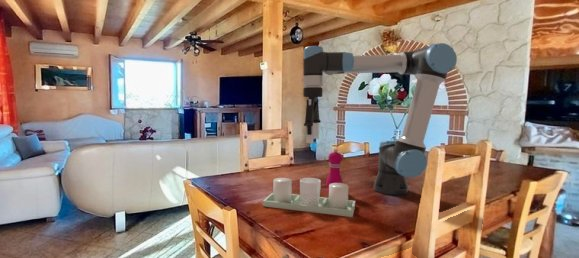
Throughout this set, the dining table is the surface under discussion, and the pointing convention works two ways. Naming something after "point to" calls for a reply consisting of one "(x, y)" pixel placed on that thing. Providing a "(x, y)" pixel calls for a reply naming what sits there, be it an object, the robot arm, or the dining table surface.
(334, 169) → the pepper mill
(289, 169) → the dining table surface
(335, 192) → the white round cylinder
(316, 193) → the white cup
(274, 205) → the caddy
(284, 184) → the white capsule
